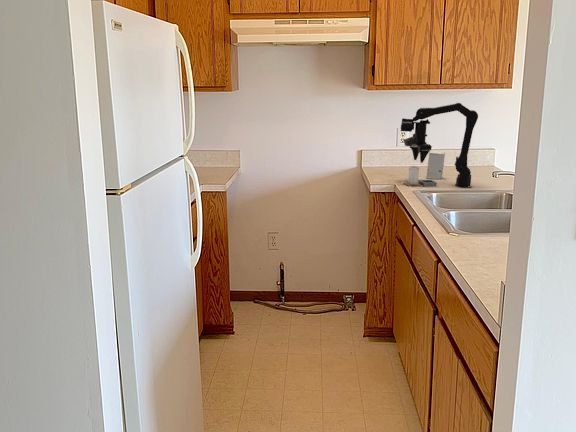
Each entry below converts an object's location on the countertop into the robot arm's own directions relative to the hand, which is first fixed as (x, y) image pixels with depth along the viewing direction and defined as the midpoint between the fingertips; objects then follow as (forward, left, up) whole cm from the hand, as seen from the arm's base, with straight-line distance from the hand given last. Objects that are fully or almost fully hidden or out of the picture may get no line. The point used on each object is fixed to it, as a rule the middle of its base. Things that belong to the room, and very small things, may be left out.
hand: (418, 161), depth 301 cm
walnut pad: (+4, +5, -12) cm, 13 cm away
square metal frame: (-4, +5, -12) cm, 13 cm away
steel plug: (+4, +5, -11) cm, 13 cm away
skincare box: (-16, -14, -12) cm, 25 cm away
